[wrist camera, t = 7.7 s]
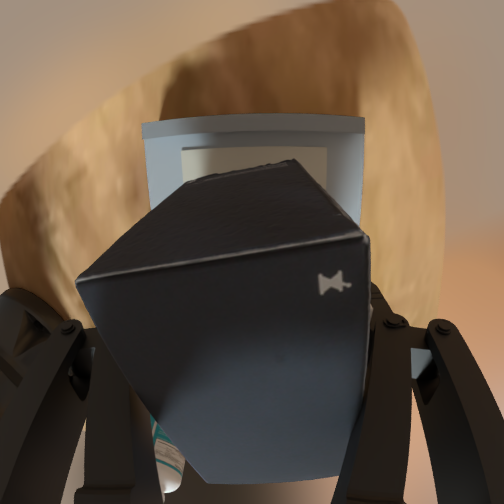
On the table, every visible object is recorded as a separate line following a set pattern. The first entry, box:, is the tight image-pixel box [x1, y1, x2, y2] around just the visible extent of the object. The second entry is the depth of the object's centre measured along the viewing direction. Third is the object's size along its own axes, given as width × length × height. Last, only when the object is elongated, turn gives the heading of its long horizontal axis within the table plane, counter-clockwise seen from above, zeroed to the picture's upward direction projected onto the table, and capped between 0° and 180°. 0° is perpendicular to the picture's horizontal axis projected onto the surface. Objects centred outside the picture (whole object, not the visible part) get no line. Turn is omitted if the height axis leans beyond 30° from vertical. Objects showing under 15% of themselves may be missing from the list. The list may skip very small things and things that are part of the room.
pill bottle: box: [150, 414, 185, 502], centre depth 26 cm, size 8×7×14 cm
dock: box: [142, 113, 365, 226], centre depth 20 cm, size 14×16×4 cm
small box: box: [75, 158, 371, 484], centre depth 12 cm, size 11×6×10 cm, turn 11°
